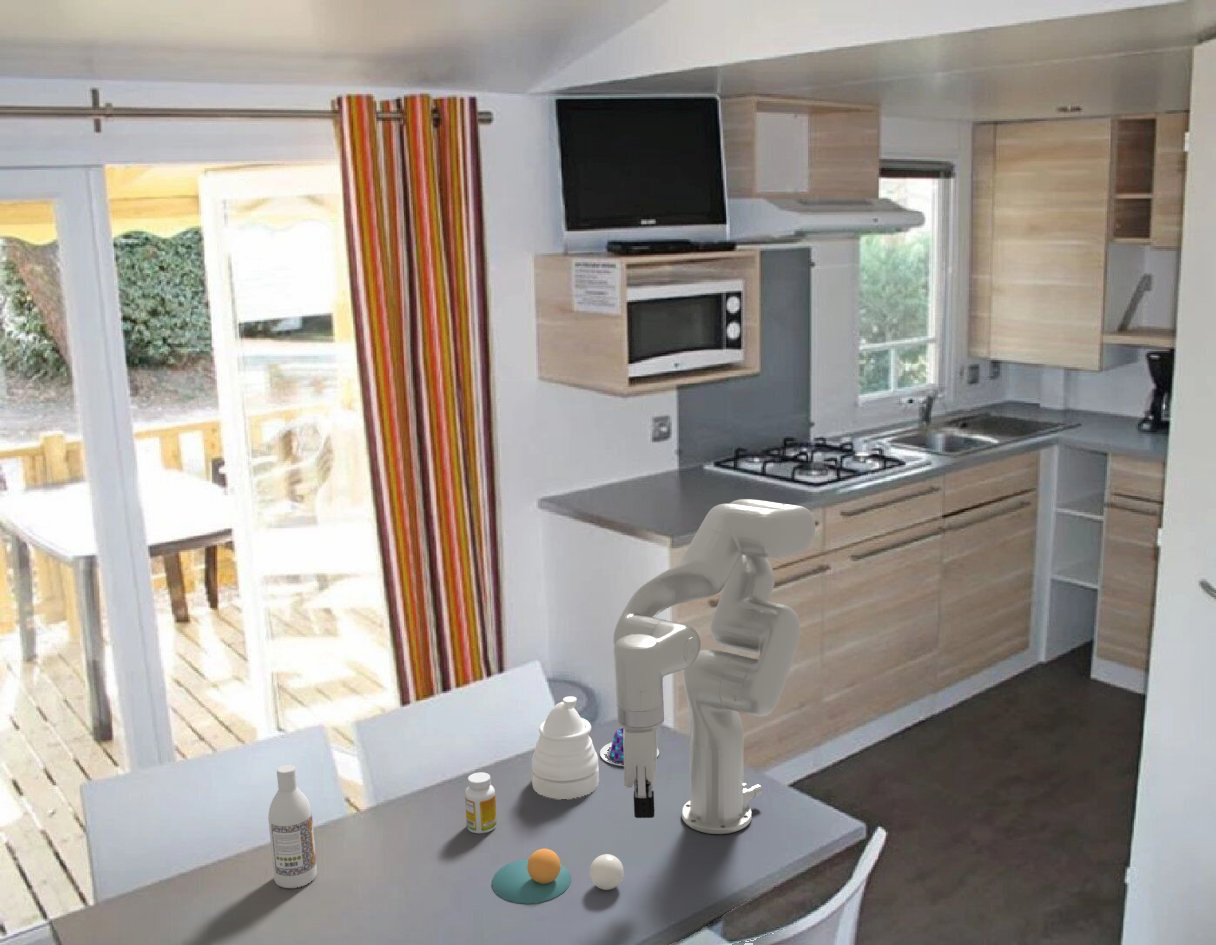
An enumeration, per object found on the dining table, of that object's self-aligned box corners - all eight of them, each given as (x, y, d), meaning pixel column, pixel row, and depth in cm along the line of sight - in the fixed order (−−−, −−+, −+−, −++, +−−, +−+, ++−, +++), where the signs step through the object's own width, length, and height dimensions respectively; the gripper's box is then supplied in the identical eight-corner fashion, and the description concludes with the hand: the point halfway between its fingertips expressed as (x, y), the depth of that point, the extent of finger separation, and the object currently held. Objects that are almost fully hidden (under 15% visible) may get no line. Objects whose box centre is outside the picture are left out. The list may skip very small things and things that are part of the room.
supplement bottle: (499, 819, 216) (497, 770, 214) (493, 834, 211) (491, 784, 208) (470, 818, 216) (467, 769, 214) (463, 834, 211) (461, 784, 209)
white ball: (604, 841, 195) (599, 865, 198) (586, 860, 191) (580, 884, 193) (632, 859, 193) (626, 883, 195) (614, 878, 188) (608, 902, 191)
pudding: (596, 744, 245) (596, 721, 244) (654, 740, 246) (653, 717, 245) (603, 771, 234) (602, 747, 232) (663, 767, 235) (663, 742, 234)
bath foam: (321, 883, 197) (311, 772, 192) (279, 894, 194) (268, 782, 189) (312, 863, 203) (302, 755, 198) (271, 873, 200) (260, 764, 196)
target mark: (542, 851, 205) (542, 850, 205) (586, 884, 195) (586, 883, 194) (477, 877, 197) (477, 876, 197) (519, 913, 187) (519, 912, 187)
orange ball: (561, 846, 198) (530, 856, 199) (550, 842, 194) (519, 852, 194) (568, 880, 196) (537, 889, 197) (557, 876, 191) (526, 886, 192)
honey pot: (612, 781, 229) (610, 694, 225) (565, 806, 220) (562, 716, 216) (565, 761, 237) (562, 677, 233) (518, 785, 228) (514, 698, 224)
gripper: (619, 691, 195) (623, 791, 200) (613, 734, 181) (619, 841, 186) (664, 691, 195) (668, 791, 200) (663, 733, 181) (667, 840, 185)
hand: (644, 815), depth 193 cm, fingers closed
